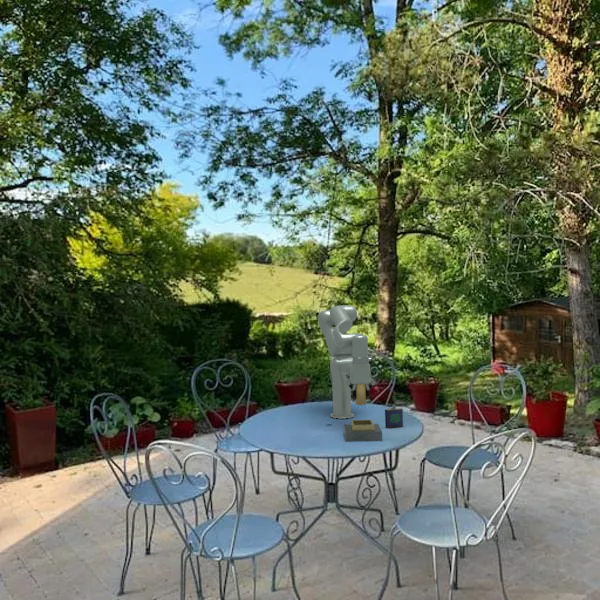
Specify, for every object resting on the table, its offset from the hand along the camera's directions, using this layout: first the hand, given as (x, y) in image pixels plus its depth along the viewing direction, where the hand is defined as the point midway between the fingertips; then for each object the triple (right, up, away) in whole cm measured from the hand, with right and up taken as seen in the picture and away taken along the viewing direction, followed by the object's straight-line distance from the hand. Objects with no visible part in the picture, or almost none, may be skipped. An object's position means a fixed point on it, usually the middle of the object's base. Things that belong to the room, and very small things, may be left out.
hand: (360, 397), depth 257 cm
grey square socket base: (-1, -15, -14) cm, 21 cm away
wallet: (+17, -15, +2) cm, 22 cm away
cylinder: (0, -3, 0) cm, 3 cm away
